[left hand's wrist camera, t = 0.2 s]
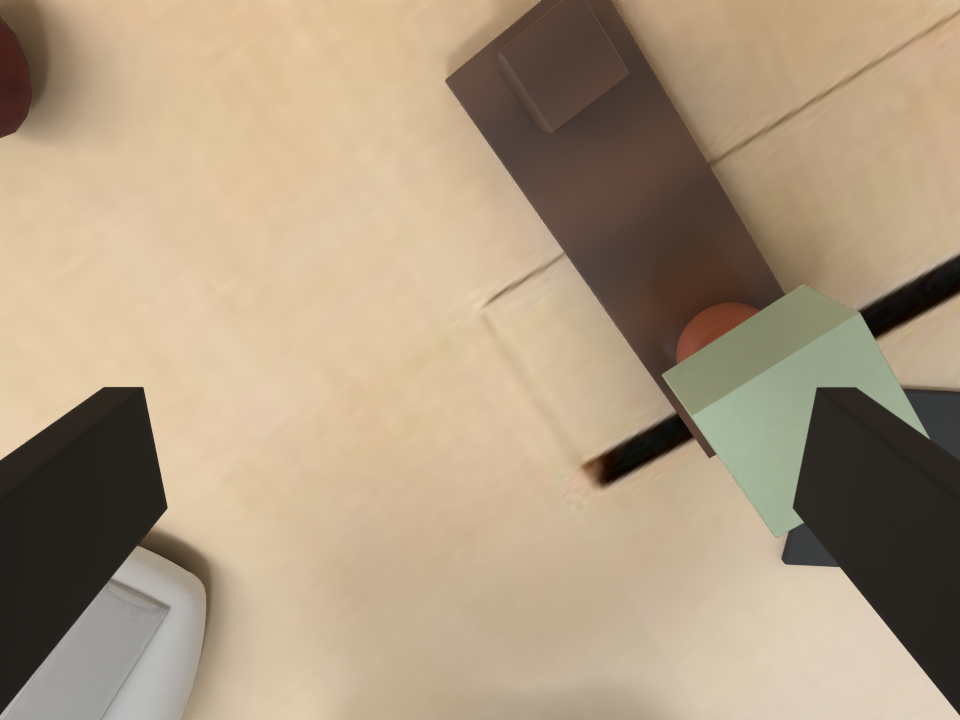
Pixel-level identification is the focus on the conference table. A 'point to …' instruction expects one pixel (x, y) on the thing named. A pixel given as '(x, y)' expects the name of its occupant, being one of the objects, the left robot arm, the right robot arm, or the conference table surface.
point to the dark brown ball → (12, 82)
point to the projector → (124, 650)
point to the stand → (617, 181)
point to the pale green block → (780, 391)
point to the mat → (947, 422)
